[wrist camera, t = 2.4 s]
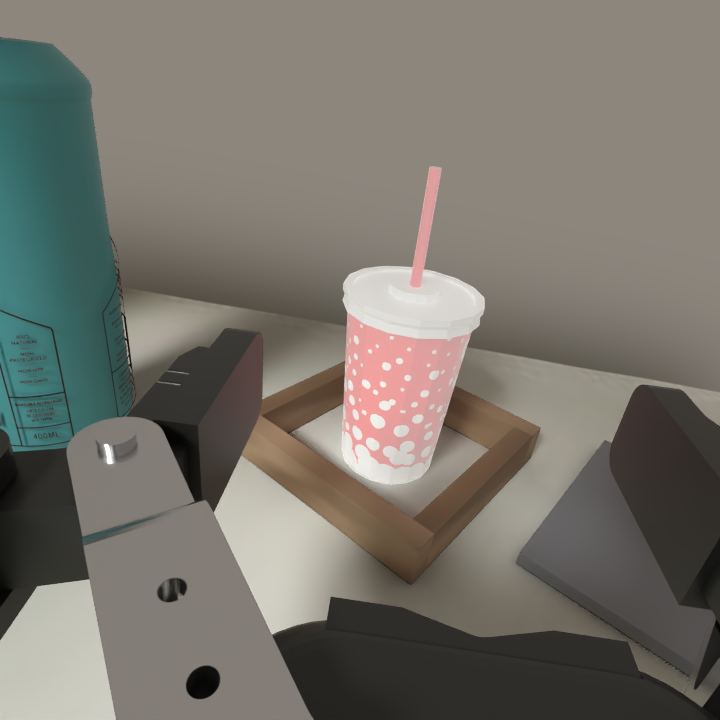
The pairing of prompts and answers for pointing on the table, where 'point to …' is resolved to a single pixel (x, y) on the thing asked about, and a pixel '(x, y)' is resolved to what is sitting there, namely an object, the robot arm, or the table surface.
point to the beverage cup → (403, 358)
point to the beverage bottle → (54, 257)
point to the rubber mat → (613, 567)
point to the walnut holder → (361, 505)
